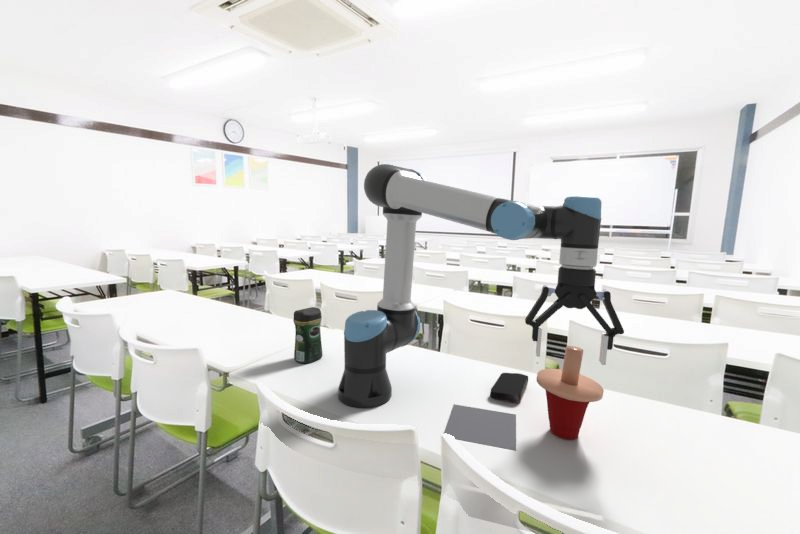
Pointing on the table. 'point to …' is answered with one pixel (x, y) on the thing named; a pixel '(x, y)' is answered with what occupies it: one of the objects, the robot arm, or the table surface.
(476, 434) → the mat
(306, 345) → the coffee jar
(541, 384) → the lid
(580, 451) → the table surface
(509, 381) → the black sponge
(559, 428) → the plastic cup
